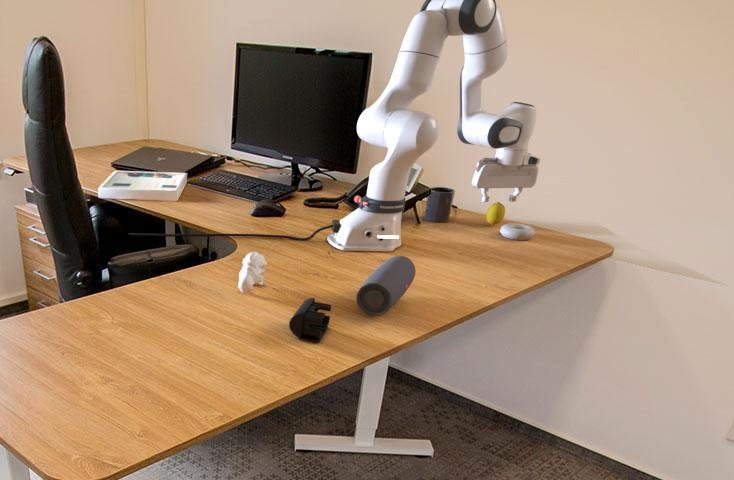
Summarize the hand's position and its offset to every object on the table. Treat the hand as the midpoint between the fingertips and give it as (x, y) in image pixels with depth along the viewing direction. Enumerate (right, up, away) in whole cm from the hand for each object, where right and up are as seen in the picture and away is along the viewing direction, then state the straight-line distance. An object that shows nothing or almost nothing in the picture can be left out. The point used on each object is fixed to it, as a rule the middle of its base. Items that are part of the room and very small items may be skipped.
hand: (498, 201), depth 225 cm
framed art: (-117, +19, +49) cm, 128 cm away
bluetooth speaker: (-56, -41, -53) cm, 87 cm away
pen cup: (-16, -3, +12) cm, 20 cm away
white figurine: (-88, -36, -43) cm, 104 cm away
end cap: (-78, -50, -67) cm, 114 cm away
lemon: (0, -7, +5) cm, 9 cm away
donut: (+3, -13, -6) cm, 14 cm away
